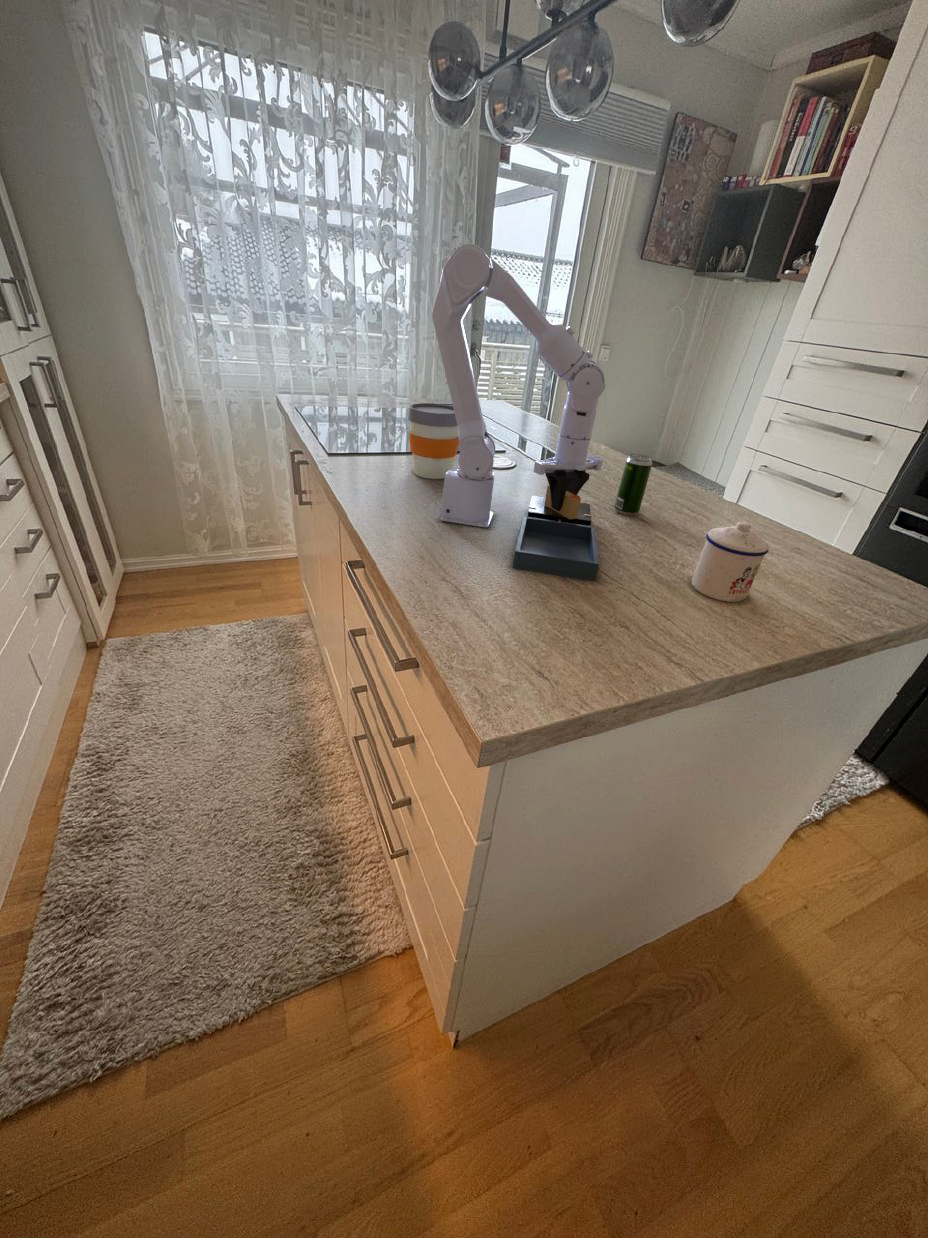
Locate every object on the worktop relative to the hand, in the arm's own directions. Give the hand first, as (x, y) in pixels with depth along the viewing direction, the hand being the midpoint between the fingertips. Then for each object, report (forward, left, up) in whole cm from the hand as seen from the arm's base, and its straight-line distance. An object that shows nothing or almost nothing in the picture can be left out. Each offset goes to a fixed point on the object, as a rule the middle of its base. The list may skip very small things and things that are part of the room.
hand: (560, 508), depth 100 cm
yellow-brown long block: (0, 0, -1) cm, 1 cm away
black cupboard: (0, +1, -4) cm, 4 cm away
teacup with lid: (+28, -15, -4) cm, 32 cm away
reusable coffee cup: (-31, +25, -4) cm, 40 cm away
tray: (0, -12, -4) cm, 13 cm away
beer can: (+15, +17, -4) cm, 23 cm away
